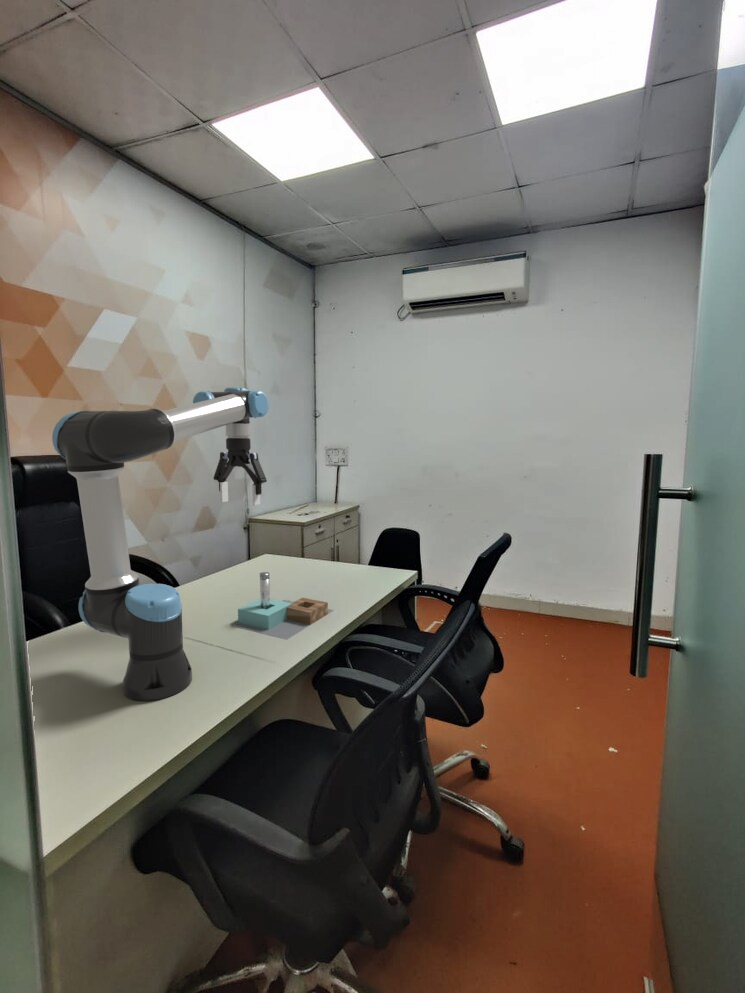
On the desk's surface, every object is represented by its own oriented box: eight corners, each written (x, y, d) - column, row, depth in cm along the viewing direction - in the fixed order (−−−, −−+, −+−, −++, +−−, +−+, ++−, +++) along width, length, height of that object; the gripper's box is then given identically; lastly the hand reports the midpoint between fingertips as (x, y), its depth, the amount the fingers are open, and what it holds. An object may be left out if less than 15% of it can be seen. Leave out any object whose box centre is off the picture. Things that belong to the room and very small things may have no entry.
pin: (266, 621, 152) (265, 575, 150) (259, 620, 153) (257, 574, 151) (272, 618, 154) (271, 572, 152) (265, 616, 156) (263, 571, 154)
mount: (310, 624, 149) (310, 612, 149) (284, 619, 154) (284, 607, 153) (327, 614, 158) (327, 602, 158) (302, 608, 163) (302, 597, 162)
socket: (268, 629, 146) (268, 615, 145) (238, 622, 151) (237, 609, 150) (292, 616, 156) (292, 603, 156) (263, 610, 162) (263, 597, 161)
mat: (286, 641, 139) (286, 639, 139) (231, 627, 148) (231, 625, 148) (334, 611, 162) (334, 610, 162) (283, 601, 171) (283, 599, 171)
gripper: (276, 437, 152) (278, 504, 154) (217, 436, 163) (220, 499, 166) (261, 438, 145) (262, 507, 148) (200, 437, 156) (203, 501, 159)
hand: (240, 503), depth 157 cm, fingers open, 13 cm apart
